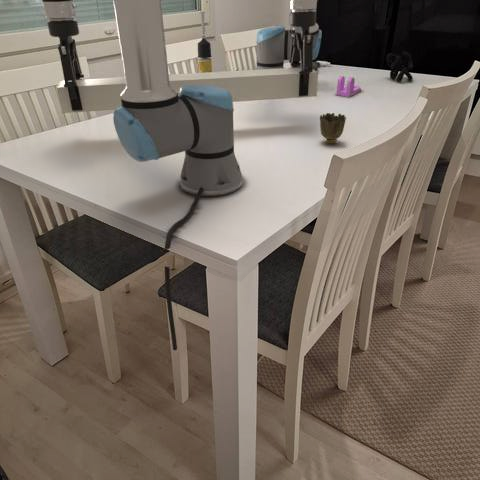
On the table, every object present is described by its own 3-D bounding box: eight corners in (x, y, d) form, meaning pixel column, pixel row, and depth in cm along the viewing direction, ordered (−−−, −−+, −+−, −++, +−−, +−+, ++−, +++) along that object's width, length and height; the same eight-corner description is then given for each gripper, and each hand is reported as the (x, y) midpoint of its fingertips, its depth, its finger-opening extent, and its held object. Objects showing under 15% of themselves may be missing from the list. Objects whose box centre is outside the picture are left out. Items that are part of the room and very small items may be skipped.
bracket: (349, 96, 177) (351, 78, 174) (336, 94, 180) (337, 76, 177) (362, 90, 186) (364, 72, 182) (350, 88, 189) (352, 71, 185)
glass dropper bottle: (214, 91, 188) (211, 12, 172) (202, 93, 186) (197, 13, 170) (210, 88, 192) (206, 11, 176) (198, 90, 190) (193, 11, 175)
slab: (62, 113, 125) (56, 87, 122) (66, 105, 132) (61, 80, 129) (316, 96, 136) (318, 72, 132) (307, 89, 143) (309, 66, 139)
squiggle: (400, 92, 202) (376, 71, 205) (417, 76, 202) (392, 56, 205) (405, 81, 191) (380, 59, 194) (423, 64, 191) (397, 42, 194)
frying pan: (288, 71, 219) (314, 64, 235) (307, 74, 213) (332, 66, 229) (288, 65, 217) (314, 58, 233) (307, 68, 211) (333, 60, 228)
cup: (314, 144, 132) (316, 118, 127) (322, 137, 137) (324, 111, 133) (339, 148, 129) (341, 121, 124) (346, 140, 134) (349, 114, 130)
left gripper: (70, 23, 109) (89, 115, 121) (81, 14, 127) (96, 95, 139) (38, 24, 108) (60, 117, 120) (53, 15, 126) (71, 97, 138)
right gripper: (328, 13, 118) (321, 100, 130) (304, 7, 136) (300, 83, 148) (301, 14, 117) (297, 101, 129) (280, 7, 135) (278, 84, 147)
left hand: (79, 105), depth 129 cm, fingers closed on slab, 9 cm apart
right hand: (298, 91), depth 139 cm, fingers closed on slab, 9 cm apart
